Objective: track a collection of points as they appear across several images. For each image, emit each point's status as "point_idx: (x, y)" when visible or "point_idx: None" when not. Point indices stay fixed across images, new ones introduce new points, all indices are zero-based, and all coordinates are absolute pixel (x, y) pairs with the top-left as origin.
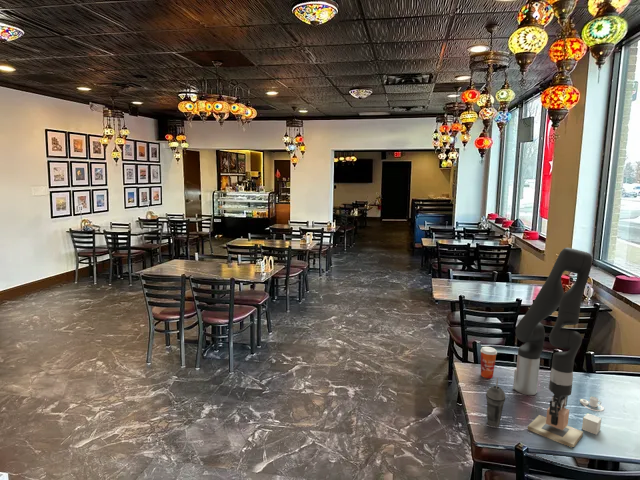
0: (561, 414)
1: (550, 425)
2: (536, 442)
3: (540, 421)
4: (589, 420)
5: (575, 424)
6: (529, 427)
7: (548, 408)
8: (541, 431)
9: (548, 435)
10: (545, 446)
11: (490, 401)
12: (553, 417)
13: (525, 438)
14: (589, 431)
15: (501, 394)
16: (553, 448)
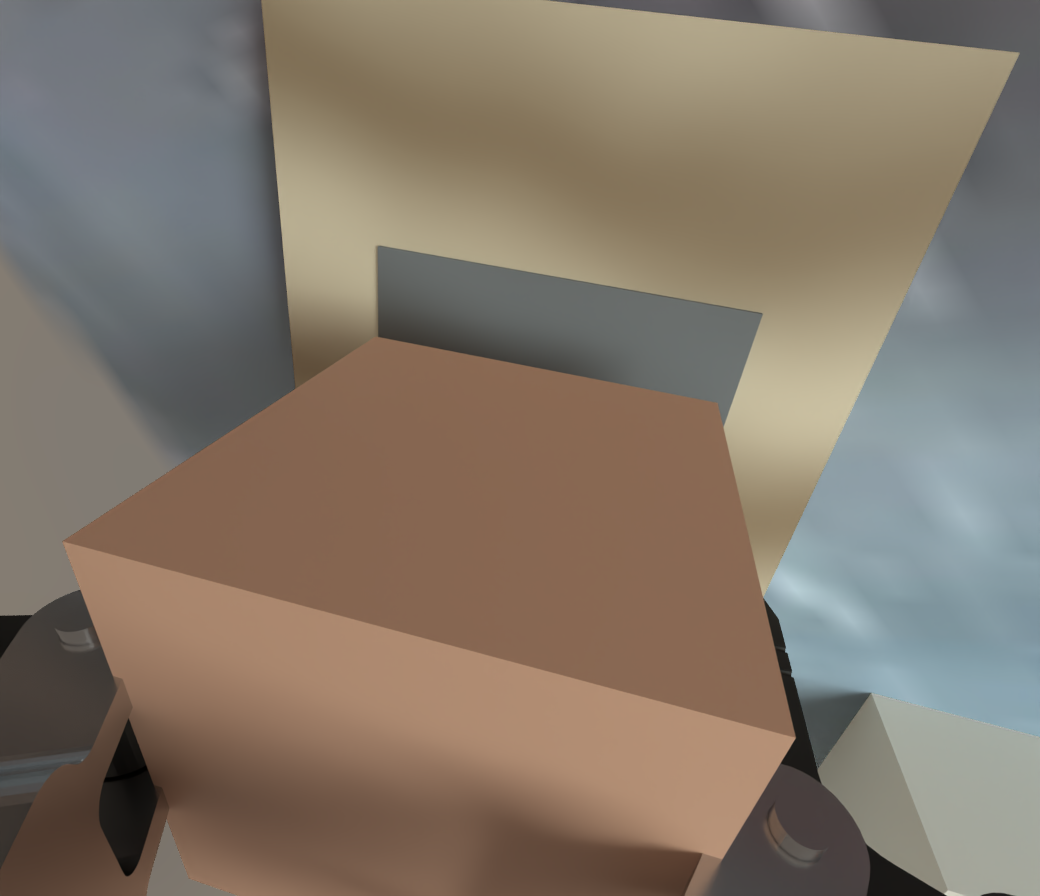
0: (179, 839)
1: (588, 371)
2: (103, 236)
3: (643, 169)
4: None
5: (991, 642)
6: (276, 16)
7: (153, 581)
8: (285, 267)
9: (302, 370)
10: (129, 351)
11: None
12: None
13: (41, 57)
14: (837, 753)
15: None
16: (174, 431)
